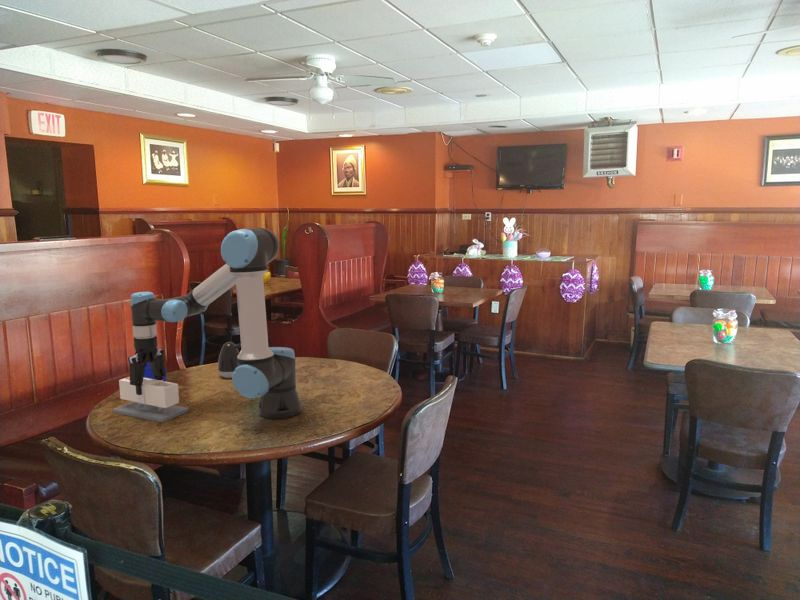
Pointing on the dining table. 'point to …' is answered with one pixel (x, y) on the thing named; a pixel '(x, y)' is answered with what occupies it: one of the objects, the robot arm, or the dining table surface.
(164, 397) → the white slotted block
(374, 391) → the dining table surface
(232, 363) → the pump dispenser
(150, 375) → the mug
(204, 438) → the dining table surface
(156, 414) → the grey piece
